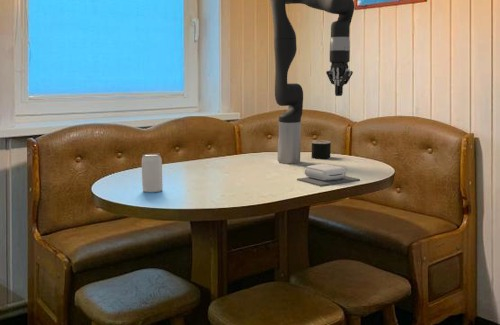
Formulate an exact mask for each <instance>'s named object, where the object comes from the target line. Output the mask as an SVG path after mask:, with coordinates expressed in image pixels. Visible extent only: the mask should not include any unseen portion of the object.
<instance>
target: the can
mask: <svg viewBox="0 0 500 325" xmlns="http://www.w3.org/2000/svg"><path fill="white" fill-rule="evenodd" d="M162 162H163V161H162V157H161V154H160V153H156V152H155V153H153V152H151V153H143V154H142V157H141V178H142V179H141V182H142V191H143V192H144V193H147V192H156V193H159V191H160V192H162V191H161V190H163V188H164V187H163V185H164V184H163V163H162Z"/></svg>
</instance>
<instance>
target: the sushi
mask: <svg viewBox="0 0 500 325" xmlns="http://www.w3.org/2000/svg"><path fill="white" fill-rule="evenodd" d="M331 143H332V141H330V140H323V139H317V140H315V139H314V140H312V141H311V155H310V156H311V159H314V158H315V159H316V160H329V159H331V150H332V149H331V147H332V146H331Z"/></svg>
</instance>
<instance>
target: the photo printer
mask: <svg viewBox="0 0 500 325" xmlns="http://www.w3.org/2000/svg"><path fill="white" fill-rule="evenodd" d="M346 173H347V170H345V168H344V167H341V166H336V165H331V164H325V163H320V164H312V165H308V166H306V167H305V168H304V175H305V176H306V177H311V178H315V179H320V180H324V181H331V180H338V179H341V178H343V177H345V176H347V174H346Z"/></svg>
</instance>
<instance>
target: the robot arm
mask: <svg viewBox="0 0 500 325" xmlns="http://www.w3.org/2000/svg"><path fill="white" fill-rule="evenodd" d="M290 4H291V5H292V4H294V5H295V4H301V5H305V6H307V7H309V8H312V9H315V10H320V11H324V12H326V13H328V14H329V13H330V14H333V15H338V18H337V20H336V21H333V22H331V25H330V39H329V40H330V41H329V63H331V65H330V69H329V70H327V71H326V73H325V74H326V75H327V78H328V79H329V82H330V84H331V85H333V86H334V95H335V96H336V97H342V96H343V93H344V92H343V91H344V88H343V87H344V86H345V85H347V84H348V83H349V81H350V79H351V77H352V75H353V73H354V72H353V71H352V70H350V69H349V65H348V64H349V62H350V58H351V54H350V53H351V40H350V34H351V33H350V32H351V31H350V30H351V29H350V26H351V23H352V19H353V17H354V16H353V15H354V12H355V1H354V0H270V7H271V14H272V15H271V16H272V25H273V46H274V48H273V49H274V60H275V61H274V66H275V67H274V68H275V72H274V75H275V76H274V98H275V99H274V100H275V101H276V104H277V105H278V106H279V107H287V106H288V107H287V110H286V111H284V112H283V113H281V114H280V115H279V116H278V139H277V162H279V163H281V164H289V165H290V164H299V163H301V145H302V144H301V143H302V142H301V139H302V138H301V136H302V135H301V133H302V132H301V130H302V129H301V128H302V127H301V126H302V125H301V123H302V122H301V121H302V115H303V106H304V91H303V87H302V85H300V84H299V83H295V82H294V83H288V72H289V70H290V67H291V64H292V63H293V61H294V58H295V57H296V55H297V50H298V49H297V34H296V31H295V29H294V27H293V25H292V23H291V22H290V20H289V18H288V15H287V8H286V5H290Z"/></svg>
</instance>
